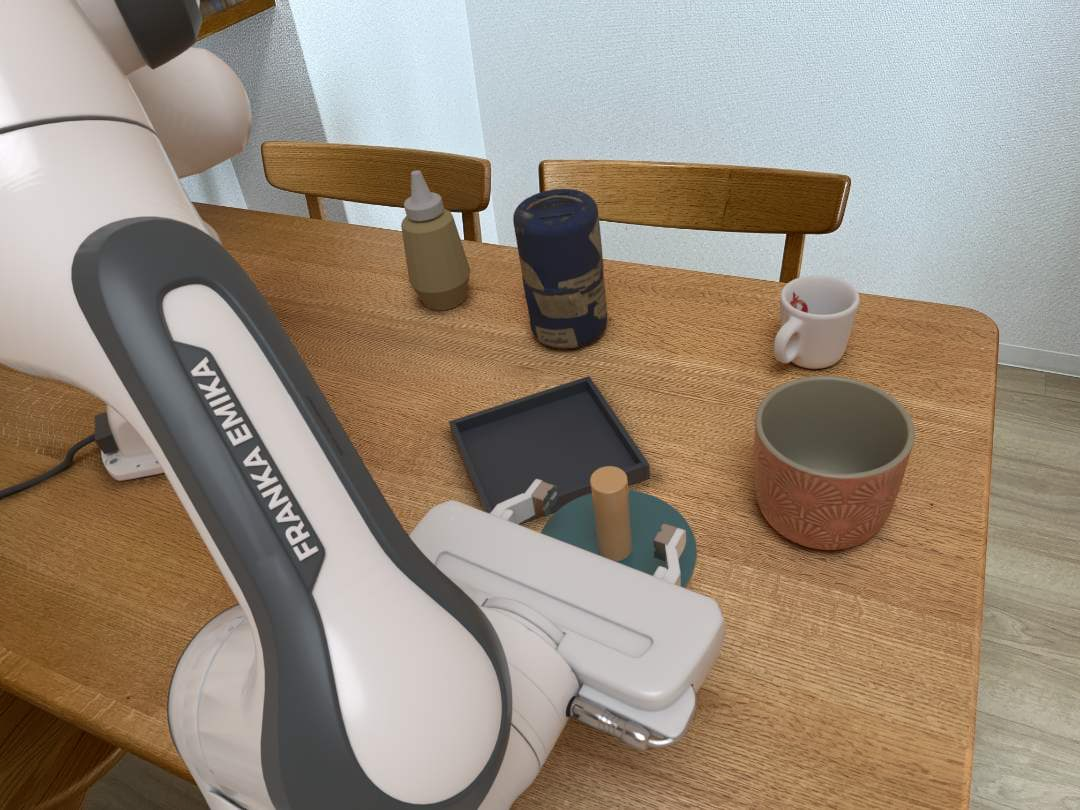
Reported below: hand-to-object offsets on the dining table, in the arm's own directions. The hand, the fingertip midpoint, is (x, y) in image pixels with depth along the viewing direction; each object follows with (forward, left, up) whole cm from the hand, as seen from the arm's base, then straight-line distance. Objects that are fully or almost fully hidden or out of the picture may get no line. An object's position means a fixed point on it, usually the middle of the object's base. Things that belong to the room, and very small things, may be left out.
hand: (609, 509), depth 54 cm
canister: (+12, +43, -18) cm, 48 cm away
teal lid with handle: (0, 0, -5) cm, 5 cm away
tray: (+2, +24, -17) cm, 30 cm away
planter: (+22, +6, -18) cm, 29 cm away
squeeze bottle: (0, +58, -18) cm, 61 cm away
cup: (+33, +25, -18) cm, 45 cm away
